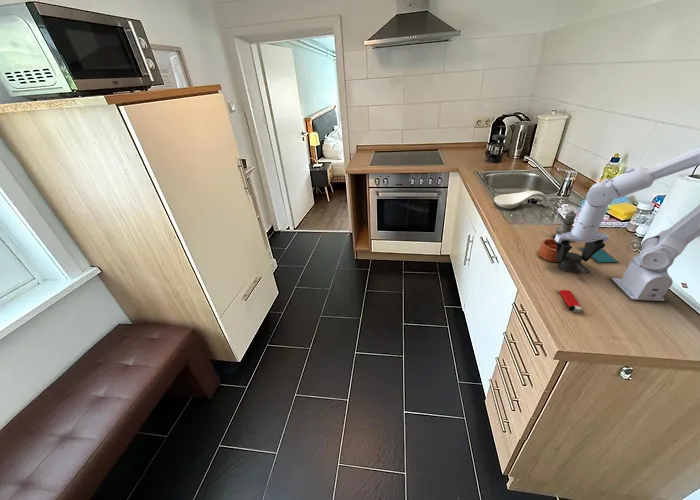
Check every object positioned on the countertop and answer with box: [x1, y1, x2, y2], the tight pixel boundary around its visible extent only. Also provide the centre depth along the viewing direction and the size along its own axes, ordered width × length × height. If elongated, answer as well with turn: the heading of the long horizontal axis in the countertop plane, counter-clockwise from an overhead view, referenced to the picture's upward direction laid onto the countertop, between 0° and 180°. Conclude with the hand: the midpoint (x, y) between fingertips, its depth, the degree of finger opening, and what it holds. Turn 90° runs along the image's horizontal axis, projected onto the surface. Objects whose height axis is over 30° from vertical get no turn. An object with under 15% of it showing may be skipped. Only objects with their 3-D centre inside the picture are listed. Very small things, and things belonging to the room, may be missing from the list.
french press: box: [485, 125, 508, 164], centre depth 194 cm, size 12×9×23 cm
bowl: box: [538, 238, 570, 263], centre depth 99 cm, size 8×8×5 cm
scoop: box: [559, 251, 591, 274], centre depth 91 cm, size 10×5×5 cm, turn 178°
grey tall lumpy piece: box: [553, 209, 577, 243], centre depth 107 cm, size 6×6×12 cm
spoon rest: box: [493, 190, 550, 210], centre depth 135 cm, size 24×12×7 cm, turn 86°
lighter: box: [559, 289, 584, 314], centre depth 81 cm, size 3×1×8 cm
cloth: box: [580, 247, 618, 264], centre depth 99 cm, size 6×9×1 cm, turn 178°
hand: (571, 260), depth 93 cm, fingers open, 7 cm apart
